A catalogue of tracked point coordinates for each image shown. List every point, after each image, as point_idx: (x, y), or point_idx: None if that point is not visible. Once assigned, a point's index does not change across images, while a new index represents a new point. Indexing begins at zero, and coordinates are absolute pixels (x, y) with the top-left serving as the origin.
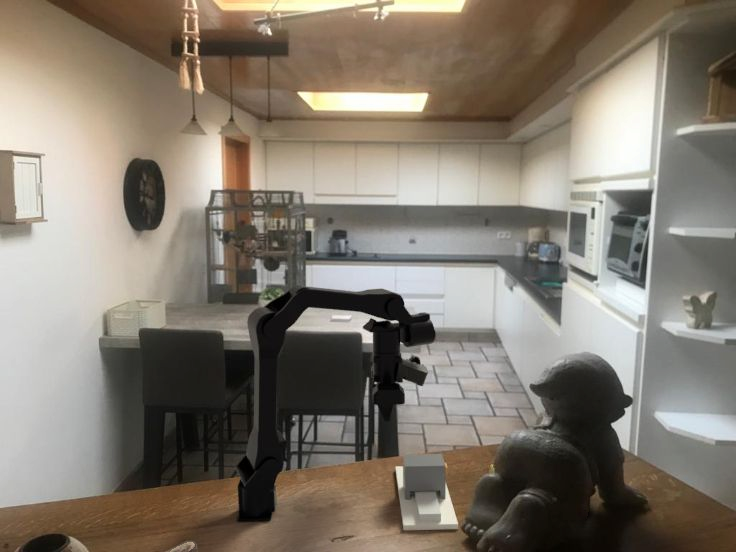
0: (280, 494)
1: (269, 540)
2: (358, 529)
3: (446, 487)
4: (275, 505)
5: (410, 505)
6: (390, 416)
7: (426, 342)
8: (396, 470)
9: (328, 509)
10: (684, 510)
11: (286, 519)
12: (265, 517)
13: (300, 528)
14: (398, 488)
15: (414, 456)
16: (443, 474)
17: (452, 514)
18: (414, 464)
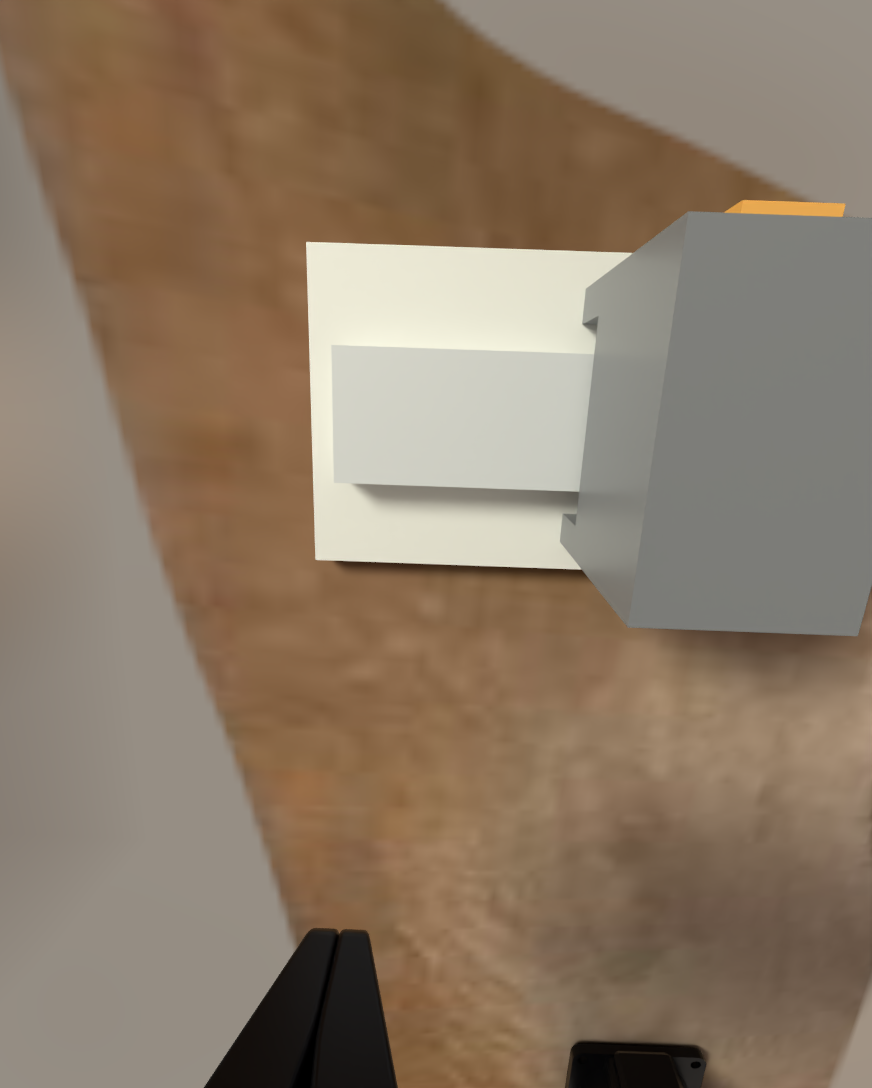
0: (510, 1027)
1: (820, 1038)
2: (845, 762)
3: (615, 258)
4: (653, 1070)
5: None
6: (385, 1023)
7: None
8: (367, 559)
9: (659, 869)
10: None
11: (699, 1000)
12: (696, 1073)
13: (773, 956)
14: (571, 568)
15: (686, 527)
16: None
17: None
18: (844, 548)
